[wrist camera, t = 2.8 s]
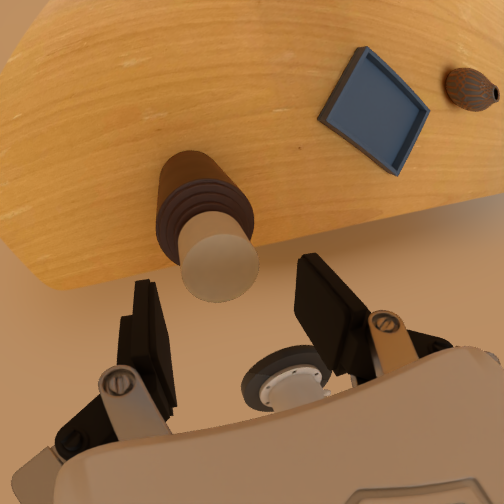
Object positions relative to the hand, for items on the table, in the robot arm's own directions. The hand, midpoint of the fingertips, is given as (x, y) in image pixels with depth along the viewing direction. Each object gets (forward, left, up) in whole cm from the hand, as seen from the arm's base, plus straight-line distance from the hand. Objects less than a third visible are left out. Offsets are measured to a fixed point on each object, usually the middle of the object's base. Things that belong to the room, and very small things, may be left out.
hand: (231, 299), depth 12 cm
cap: (0, 0, -6) cm, 6 cm away
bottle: (0, 0, -21) cm, 21 cm away
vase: (-27, -32, -21) cm, 47 cm away
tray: (-16, -18, -21) cm, 32 cm away
